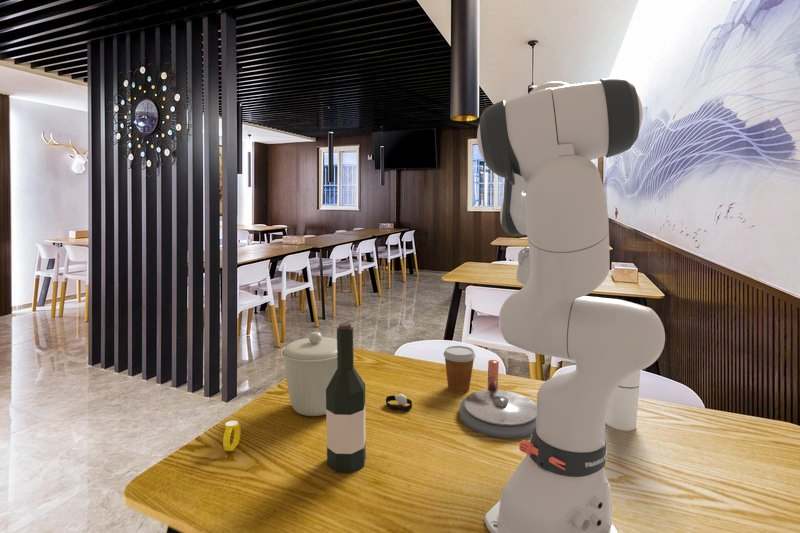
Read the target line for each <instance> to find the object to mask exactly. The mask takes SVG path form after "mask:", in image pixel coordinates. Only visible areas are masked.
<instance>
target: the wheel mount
mask: <svg viewBox="0 0 800 533" xmlns="http://www.w3.org/2000/svg"><path fill="white" fill-rule="evenodd" d="M465 399H466V398H464V399H463V400H462V401H461V402H460V404H459V419H460V421H461V422H462V423H463V424H464V425H465V426H466V427H467V428H469V429H470V430H472V431H474V432H475V433H476V432H477V433H479V434H481V435H485V436H487V437H488V436H489V437H493V438H498V439H499V438H500V439H511V440H512V439H522V438H527V437H531V435H532V433H533V430H534V428H535V426H536V419H535V420H534V421H533V422H531V423H529V424H526V425H522V426H512V427H508V426H497V425H492V424H488V423H484V422H481V421H479V420H477V419H475V418H473V417H472V416H470V415H469V414H468V413H467V412H466V410H465Z"/></svg>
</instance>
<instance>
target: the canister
mask: <svg viewBox="0 0 800 533" xmlns="http://www.w3.org/2000/svg"><path fill="white" fill-rule="evenodd" d="M280 355H281V357H282V358H283V363H284V370H285V377H286V379H285V380H286V384H287V390H288V395H289V401H290V402H289V403H290V404H291V407H292V409H293V410H294V411H295V412H296V413H297V414H299V415H302V416H305V417H319V416H324V415H325V416H326V389H327V387H328V385H329V383H330V381H331V379H332V377H333V376H334V374H335V372H336V370H337V338H334V337H327V336H325V337H324V336H323V335H322V333H321V332H319V331H313V332H311V333H310V334H309V335H308V337H305V338H301V339H297V340H294V341H292V342H290V343H288V344H287V345H286V346H283V348H282V349H281V350H280Z"/></svg>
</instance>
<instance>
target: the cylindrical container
mask: <svg viewBox="0 0 800 533" xmlns="http://www.w3.org/2000/svg"><path fill="white" fill-rule="evenodd" d="M640 379H641V370H640V371H637V372H635V373H634V374H632V375H630V376H629V377H627V378H626V379H625V380H624V381H623V382H622V383H621V384H620V385H619V386H618V387H617V388H616V390H615V391H614V393H613V395H612V397H611V399H610V402H609V405H608V410H607V416H606V423H605V425H607V426H608V427H610V428H612V429H616V430H619V431H634V430H636V428H637V418H638V408H639V407H638V404H639V393H640Z"/></svg>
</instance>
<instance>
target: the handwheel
mask: <svg viewBox="0 0 800 533" xmlns="http://www.w3.org/2000/svg"><path fill="white" fill-rule="evenodd" d="M499 364H500V362H499V360H495V359H489V360H488V365H487V389H483V390H478V391H475V392H473V393H470V394H469V395H467V396H466V397H465V398H464V399H465V410H466V412H467V413H468V414H469V415H470V416H472V417H473V418H475V419H477V420H479V421H481V422H484V423H488V424H492V425H497V426H508V427H512V426H522V425H526V424H529V423H531V422H533V421H534V420H535V419H536V414H537V403H536V402H535V401H533V400H532V399H531V398H529V397H527V396H525V395H522V394H519V393H517V392H514V391H509V390H500V389H499V368H500V366H499Z"/></svg>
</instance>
